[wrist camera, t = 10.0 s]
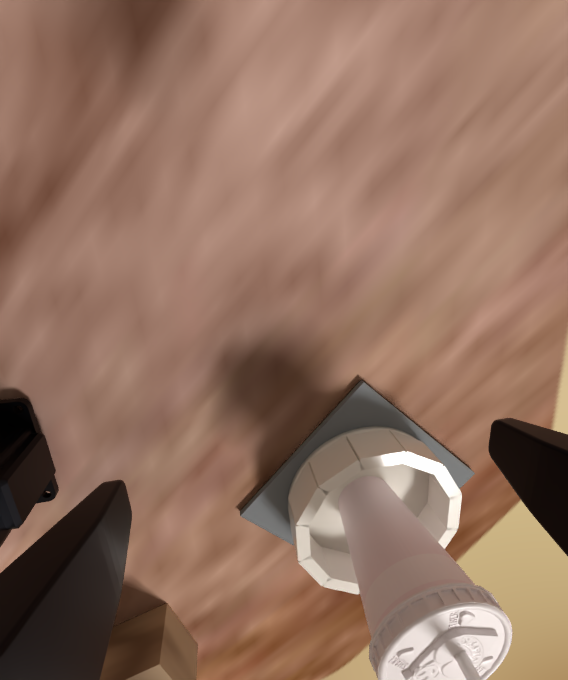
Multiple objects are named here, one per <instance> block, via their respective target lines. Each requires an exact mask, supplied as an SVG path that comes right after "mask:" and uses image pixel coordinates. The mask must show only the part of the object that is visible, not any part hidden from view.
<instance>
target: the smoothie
mask: <svg viewBox="0 0 568 680" xmlns="http://www.w3.org/2000/svg"><path fill="white" fill-rule="evenodd" d="M338 506H339V511H340V515H341V519H342V523H343V527H344V531H345V535H346V539H347V543H348V547H349V551H350V555H351V559H352V563H353V567H354V571H355V575H356V579H357V583H358V587H359V591H360V595H361V599H362V603H363V607H364V611H365V616H366V619H367V623H368V627H369V631H370V635H371V638H372V639H371V642H370V645H369V659H370V662H371V664H372V667H373V670H374V671H375V672H376V675H377V678H378V680H486V679H487V678H488V677H489V676H490V675H491V674H492V673H493V672H494V671H495V670H496V669H497V668H498V667H499V665H500V664H501V663H502V661H503V660H504V658H505V656H506V654H507V653H508V650H509V647H510V644H511V640H512V626H511V623H510V621H509V619H508V617H507V616H506V614H505V613H504V612H503V610H502V609H501V608H500V606H499V604H498V602H497V601H496V599H495V598H494V596H493V595H492V593H490V592H489V591H487V590H485V589H484V588H483V587H481V586H478V585H475V584H474V583H473V582H472V581H471V579H470V578H469V577H468V576H467V575H466V573H465V572H464V571H463V570H462V569H461V568H460V566H459V565H458V564H457V563H456V562H455V561H454V560H453V559H452V557H451V556H450V555H449V554H448V553H447V552H446V551H445V549H444V548H443V547H442V546H441V545H440V544H439V543H438V541H437V540H436V539H435V538H434V537H433V536H432V535H431V533H430V532H429V531H428V530H427V529H426V528H425V526H424V525H423V524H422V523H421V522H420V521H419V520H418V518H417V517H416V516H415V515H414V514H413V513H412V512H411V510H410V509H409V508H408V507H407V506H406V505H405V504H404V502H403V501H402V500H401V499H400V498H399V497H398V496H397V494H396V493H395V492H394V491H393V490H392V489H391V487H390V486H389V485H388V484H387V483H386V482H385V481H384V480H383V479H381V478H378V477H375V476H365V477H361V478H358V479H356V480H354V481H352V482H351V483H349V484H348V485H347V486H346V487H345V488H344V489H343V491H342V492H341V494H340V497H339V500H338Z"/></svg>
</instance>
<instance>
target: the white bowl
mask: <svg viewBox="0 0 568 680" xmlns="http://www.w3.org/2000/svg"><path fill="white" fill-rule="evenodd" d="M365 476H375V477H378V478H381V479H383V480H384V481H385V482H386V483H387V484H388V485H389V486H390V487H391V489H392V490H393V491H394V492H395V493H396V494H397V496H398V497H399V498H400V499H401V500H402V501H403V502H404V504H405V505H406V506H407V507H408V508H409V509H410V510H411V512H412V513H413V514H414V515H415V516H416V517H417V518H418V520H419V521H420V522H421V523H422V524H423V525H424V526H425V528H426V529H427V530H428V531H429V532H430V533H431V535H432V536H433V537H434V538H435V539H436V540H437V541H438V543H439V544H440V545H441V546H442V547H443V548H444V549H445V548H446V546H447V545H448V543H449V542H450V540H451V539H452V538H453V536H454V535H455V533H456V532H457V529H458V526H459V517H460V508H461V499H462V494H461V491H460V490H459V488H458V487H457V485H456V483H455V482H454V480H453V479H452V477H451V475H450V474H449V472H448V470H447V469H446V467H445V466H444V464H443V463H442V462H441V461H440V460H439V459H438V458H437V457H436V456H435V455H434V454H433V452H432V451H431V450H430V449H429V448H428V447H427V446H426V445H425V444H424V443H423V442H422V441H419V440H417V439H416V438H414V437H413V436H411V435H410V434H408V433H406V432H404V431H402V430H398V429H395V428H390V427H384V426H370V427H362V428H357V429H353V430H350V431H347V432H344V433H342V434H339V435H337V436H335V437H333V438H331V439H330V440H328V441H326V442H325V443H323V444H322V445H321V446H319V447H318V448H317V449H315V450H314V451H313V452H312V453H311V454H310V455H309V456H308V457H307V458H306V460H305V461H304V462H303V463H302V465H301V466H300V468H299V469H298V471H297V472H296V474H295V476H294V478H293V481H292V483H291V486H290V490H289V495H288V511H289V517H290V527H291V533H292V538H293V542H294V546H295V550H296V555H297V559H298V562H299V564H300V565H301V566H302V567H303V568H304V569H305V570H306V571H307V572H308V573H309V574H310V575H311V576H312V577H313V578H314V579H315V580H316V581H317V582H318V583H319V584H320V585H321V586H322V585H323V587H326V588H330V589H335V590H340V591H344V592H349V593H353V594H359V593H360V591H359V587H358V583H357V579H356V575H355V571H354V567H353V563H352V559H351V555H350V551H349V547H348V543H347V539H346V535H345V531H344V527H343V523H342V519H341V515H340V511H339V506H338V500H339V497H340V494H341V492H342V491H343V489H344V488H345V487H346V486H347V485H348V484H349V483H351V482H352V481H354V480H356V479H358V478H361V477H365Z"/></svg>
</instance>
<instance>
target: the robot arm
mask: <svg viewBox="0 0 568 680" xmlns="http://www.w3.org/2000/svg"><path fill="white" fill-rule="evenodd" d="M17 406H21V407H22V408H23V411H21V410H19V409H18V408H17ZM489 453H490V456H491V458H492V459H493V461H494V462H495V464H496V465H497V466H498V468H499V469H500V471H501V472H502V473H503V475H504V476H505V478H506V479H507V480H508V482H509V483H510V485H511V486H512V488H513V489H514V490H515V492H516V493H517V495H518V496H519V497H520V499H521V500H522V502H523V503H524V504H525V506H526V507H527V508H528V510H529V511H530V512H531V513H532V514H533V516H534V517H535V518H536V519H537V521H538V522H539V523H540V524H541V525H542V527H543V528H544V529H545V530H546V531H547V532H548V533H549V535H550V536H551V537H552V538H553V539H554V541H555V542H556V543H557V544H558V545H559V547H560V548H561V549H562V550H563V551H564V552H565V554H566V555H567V556H568V435H567V434H564V433H561V432H557V431H554V430H550V429H547V428H543V427H540V426H537V425H533V424H530V423H526V422H523V421H519V420H516V419H513V418H505V419H499V420H495V421H494V422H493V423H492V425H491V432H490V440H489ZM55 472H56V470H55V467H54V464H53V461H52V458H51V454H50V451H49V448H48V445H47V442H46V439H45V436H44V435H43V434H42V433H41V432H40V429H39V426H38V423H37V420H36V417H35V413H34V410H33V407H32V405H31V403H30V402H29V401H28V400H27V399H24V398H16V399H8V400H0V547H1V545H2V544H3V542H4V541H5V539H6V538H7V536H8V535H9V533H10V532H11V530H12V529H17V528H19V527H20V526H21V525H22V524H23V523H24V521H25V520H26V518H27V516H28V515H29V513H30V512H31V510H32V508H33V507H34V505H35V504H36V503H41V502H47V501H51V500H53V499H54V498H55V496H56V495H57V493H58V491H59V490H58V485H57V482H56V479H55V476H54V474H55ZM45 491H49V492H50V493H47V492H45ZM131 521H132V511H131V506H130V502H129V498H128V494H127V490H126V486H125V483H124V481H122V480H115V481H108V482H104V483H102V484H101V485H99V486H98V487H97V488H96V489H95V490H94V491H93V492H92V493H90V494H89V495H88V496H87V497H86V498H85V499H84V500H83V501H81V502H80V503H79V504H78V505H77V506H76V507H75V508H73V509H72V510H71V511H70V512H69V513H68V514H67V515H66V516H64V517H63V518H62V519H61V520H60V521H59V522H58V523H57V524H55V525H54V526H53V527H52V528H51V529H50V530H49V531H48V532H46V533H45V534H44V535H43V536H42V537H41V538H40V539H38V540H37V541H36V542H35V543H34V544H33V545H32V546H31V547H29V548H28V549H27V550H26V551H25V552H24V553H23V554H22V555H20V556H19V557H18V558H17V559H16V560H15V561H14V562H12V563H11V564H10V565H9V566H8V567H7V568H6V569H5V570H3V571H2V572H1V573H0V680H100V677H101V673H102V669H103V665H104V661H105V657H106V653H107V649H108V645H109V641H110V637H111V633H112V629H113V625H114V621H115V617H116V613H117V609H118V605H119V600H120V596H121V591H122V585H123V579H124V572H125V564H126V557H127V550H128V543H129V536H130V528H131Z"/></svg>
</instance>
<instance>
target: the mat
mask: <svg viewBox="0 0 568 680" xmlns="http://www.w3.org/2000/svg"><path fill="white" fill-rule="evenodd" d="M370 426H384V427H390V428H395V429H398V430H402V431H404V432H406V433H408V434H410V435H411V436H413V437H414V438H416V439H417V440H419V441H422V442H423V443H424V444H425V445H426V446H427V447H428V448H429V449H430V450H431V451H432V452H433V454H434V455H435V456H436V457H437V458H438V459H439V460H440V461H441V462H442V463H443V464H444V466H445V467H446V469H447V470H448V472H449V474H450V475H451V477H452V479H453V480H454V482H455V483H456V485H457V487H458V488H459V489H460V488H461V487H462V486H463V485H464V484H465V483H466V482H467V481H468V480H469V479H470V478H471V477H472V476H473V475H474V474H475V473H474V472H473V471H472V470H471V469H470V468H469V467H467V466H466V465H465V464H464V463H462V462H461V461H460V460H459V459H458V458H456V457H455V456H454V455H453V454H451V453H450V452H449V451H448V450H447V449H445V448H444V447H443V446H442V445H440V444H439V443H438V442H437V441H436V440H434V439H433V438H432V437H431V436H430V435H428V434H427V433H426V432H425V431H423V430H422V429H421V428H420V427H419V426H417V425H416V424H415V423H414V422H412V421H411V420H410V419H409V418H408V417H406V416H405V415H404V414H403V413H401V412H400V411H399V410H398V409H397V408H395V407H394V406H393V405H392V404H390V403H389V402H388V401H387V400H386V399H384V398H383V397H382V396H381V395H379V394H378V393H377V392H376V391H375V390H373V389H372V388H371V387H370V386H368V385H367V384H366V383H365V382H364V381H362V380H361V381H360V382H359V383H358V384H357V385H356V386H355V387H354V388H353V389H352V390H351V392H350V393H349V394H348V395H347V396H346V397H345V398H344V399H343V400H342V401H341V402H340V404H339V405H338V406H337V407H336V408H335V409H334V410H333V411H332V412H331V413H330V414H329V415H328V417H327V418H326V419H325V420H324V421H323V422H322V423H321V424H320V425H319V426H318V427H317V429H316V430H315V431H314V432H313V433H312V434H311V435H310V436H309V437H308V438H307V439H306V440H305V442H304V443H303V444H302V445H301V446H300V447H299V448H298V449H297V450H296V451H295V452H294V453H293V455H292V456H291V457H290V458H289V459H288V460H287V461H286V462H285V463H284V464H283V465H282V467H281V468H280V469H279V470H278V471H277V472H276V473H275V474H274V475H273V476H272V477H271V478H270V480H269V481H268V482H267V483H266V484H265V485H264V486H263V487H262V488H261V489H260V490H259V491H258V493H257V494H256V495H255V496H254V497H253V498H252V499H251V500H250V501H249V502H248V503H247V505H246V506H245V507H244V508H243V509H242V510H241V511H240V516H241V517H243V518H245V519H247V520H249V521H250V522H252V523H254V524H256V525H258V526H259V527H261V528H263V529H265V530H267V531H268V532H270V533H272V534H274V535H276V536H277V537H279V538H281V539H283V540H285V541H287V542H288V543H290V544H292V545H294V542H293V538H292V533H291V527H290V517H289V511H288V495H289V490H290V486H291V483H292V481H293V478H294V476H295V474H296V472H297V471H298V469H299V468H300V466H301V465H302V463H303V462H304V461H305V460H306V458H307V457H308V456H309V455H310V454H311V453H312V452H313V451H314V450H315V449H317V448H318V447H319V446H321V445H322V444H323V443H325V442H326V441H328V440H330V439H331V438H333V437H335V436H337V435H339V434H342V433H344V432H347V431H350V430H353V429H357V428H362V427H370Z"/></svg>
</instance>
